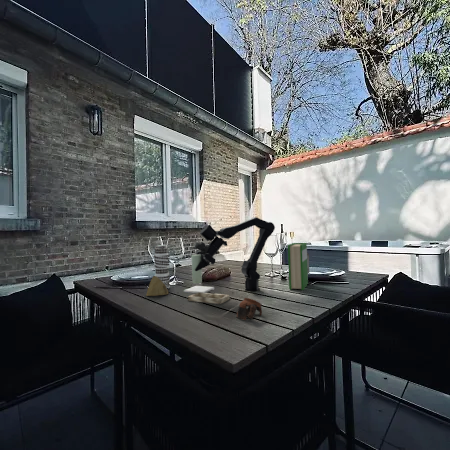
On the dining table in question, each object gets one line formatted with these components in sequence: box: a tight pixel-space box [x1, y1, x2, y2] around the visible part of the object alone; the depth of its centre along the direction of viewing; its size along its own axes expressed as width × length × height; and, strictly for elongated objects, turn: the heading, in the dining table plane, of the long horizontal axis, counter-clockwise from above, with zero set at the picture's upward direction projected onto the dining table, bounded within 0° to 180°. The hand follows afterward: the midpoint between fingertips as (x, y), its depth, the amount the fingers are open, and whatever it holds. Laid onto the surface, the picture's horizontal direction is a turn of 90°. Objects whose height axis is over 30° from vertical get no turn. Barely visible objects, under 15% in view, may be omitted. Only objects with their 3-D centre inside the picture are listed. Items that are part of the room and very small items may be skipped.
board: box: [183, 285, 215, 294], centre depth 158 cm, size 12×12×2 cm
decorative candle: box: [153, 244, 171, 289], centre depth 171 cm, size 9×9×25 cm
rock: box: [145, 275, 169, 297], centre depth 153 cm, size 11×9×10 cm
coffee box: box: [307, 252, 310, 274], centre depth 185 cm, size 9×6×16 cm
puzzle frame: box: [187, 292, 231, 305], centre depth 137 cm, size 17×9×2 cm, turn 64°
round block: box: [191, 254, 203, 285], centre depth 148 cm, size 5×5×14 cm
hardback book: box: [287, 242, 309, 291], centre depth 162 cm, size 18×7×24 cm, turn 157°
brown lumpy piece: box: [236, 297, 263, 321], centre depth 111 cm, size 12×10×8 cm
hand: (194, 270), depth 147 cm, fingers closed on round block, 5 cm apart
